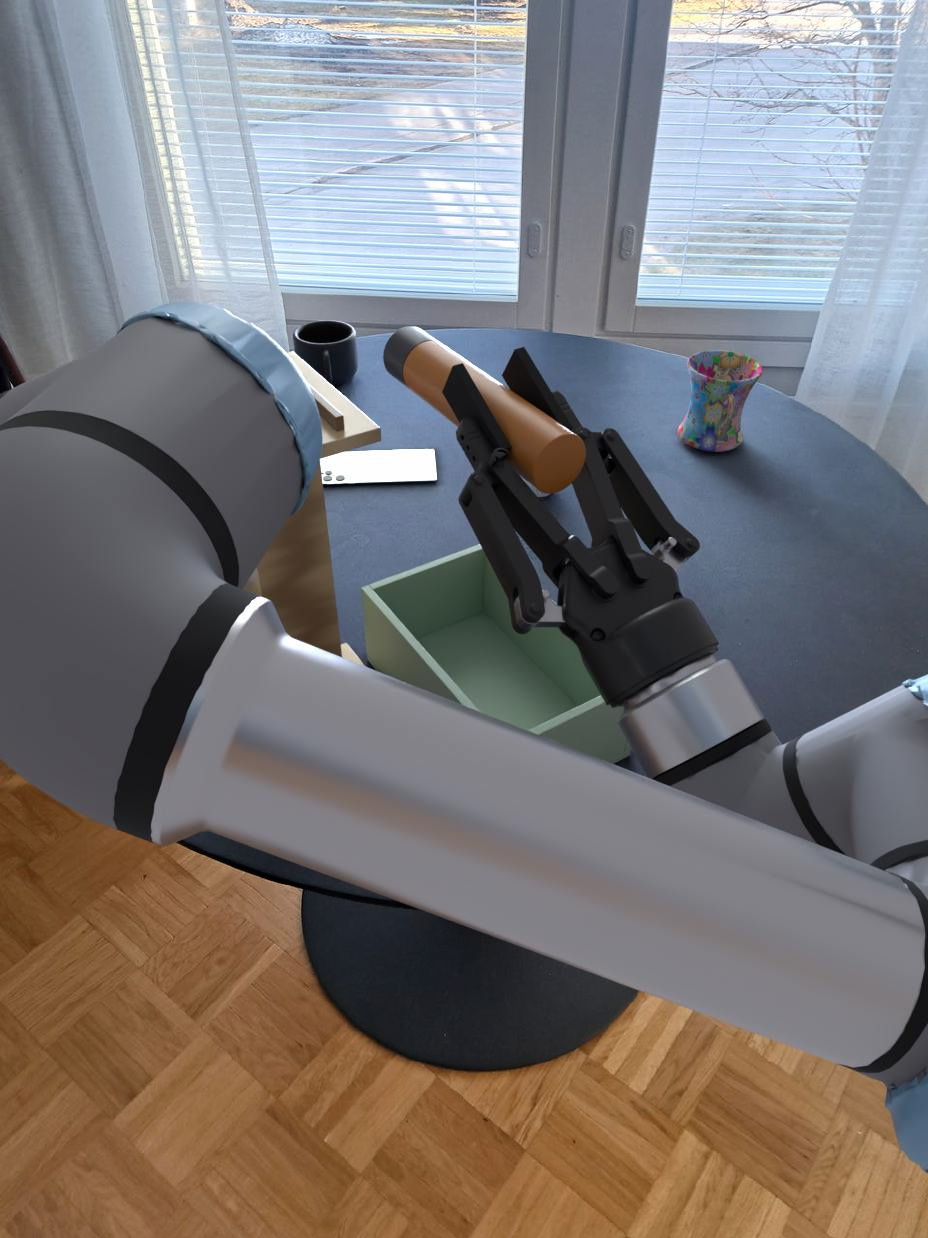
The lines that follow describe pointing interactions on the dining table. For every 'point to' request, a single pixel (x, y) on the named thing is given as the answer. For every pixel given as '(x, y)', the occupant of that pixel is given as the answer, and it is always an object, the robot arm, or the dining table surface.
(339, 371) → the mug
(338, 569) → the dining table surface
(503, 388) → the orange brown cylinder
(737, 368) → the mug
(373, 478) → the smartphone
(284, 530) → the stand
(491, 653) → the bin
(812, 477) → the dining table surface
